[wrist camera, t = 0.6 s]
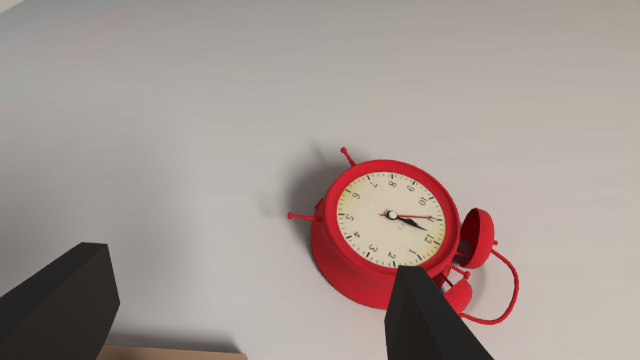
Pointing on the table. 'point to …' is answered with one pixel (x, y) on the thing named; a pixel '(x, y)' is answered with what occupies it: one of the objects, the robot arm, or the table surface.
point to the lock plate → (161, 354)
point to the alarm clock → (396, 234)
